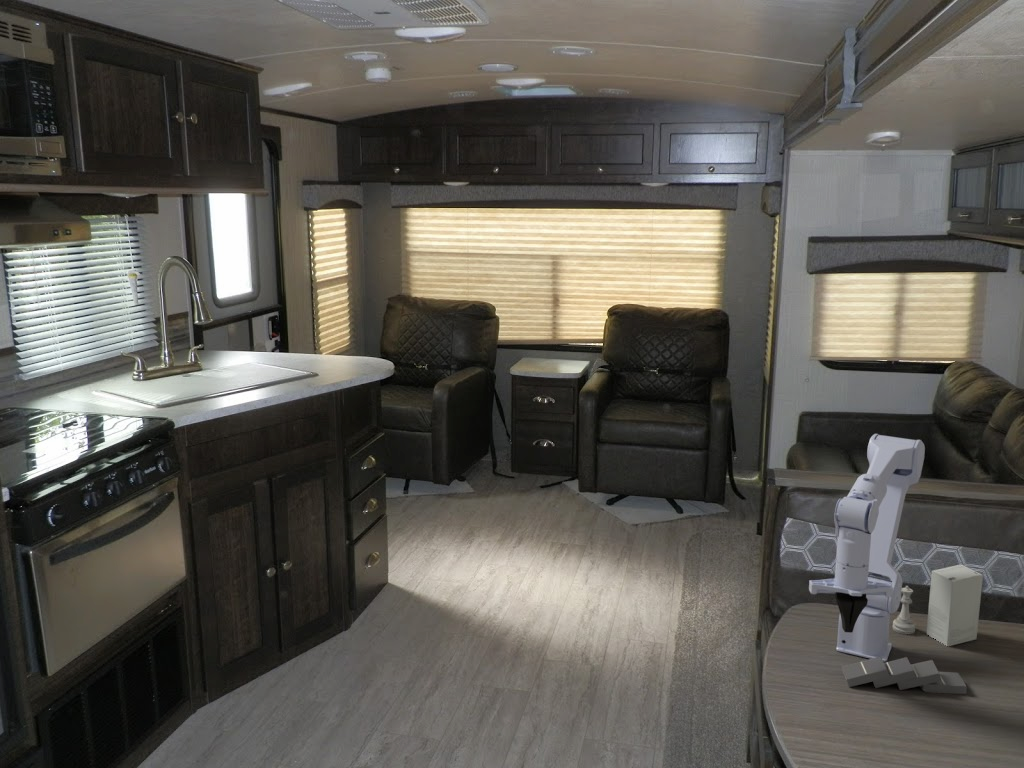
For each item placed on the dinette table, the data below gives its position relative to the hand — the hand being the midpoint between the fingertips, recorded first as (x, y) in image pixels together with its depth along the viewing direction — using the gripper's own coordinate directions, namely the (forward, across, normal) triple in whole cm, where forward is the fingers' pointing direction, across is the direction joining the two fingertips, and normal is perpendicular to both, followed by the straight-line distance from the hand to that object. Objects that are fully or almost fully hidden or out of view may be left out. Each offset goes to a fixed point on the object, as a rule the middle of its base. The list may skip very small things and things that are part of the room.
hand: (847, 630), depth 165 cm
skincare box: (+10, +27, +20) cm, 35 cm away
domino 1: (+10, 0, 0) cm, 10 cm away
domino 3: (+10, +10, 0) cm, 14 cm away
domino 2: (+10, +5, 0) cm, 11 cm away
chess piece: (+10, +18, +23) cm, 31 cm away
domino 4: (+10, +14, 0) cm, 17 cm away
